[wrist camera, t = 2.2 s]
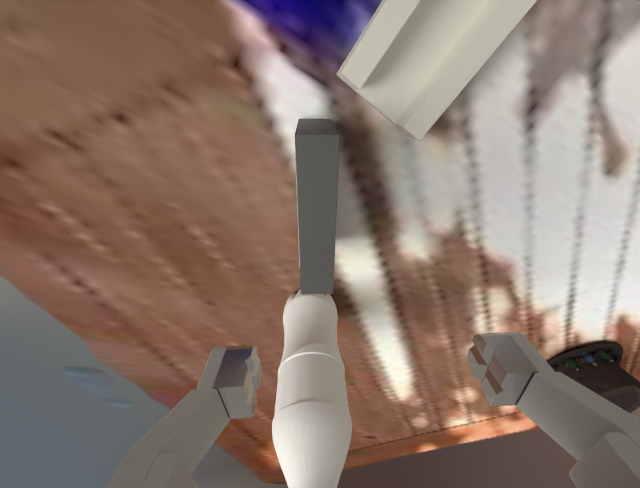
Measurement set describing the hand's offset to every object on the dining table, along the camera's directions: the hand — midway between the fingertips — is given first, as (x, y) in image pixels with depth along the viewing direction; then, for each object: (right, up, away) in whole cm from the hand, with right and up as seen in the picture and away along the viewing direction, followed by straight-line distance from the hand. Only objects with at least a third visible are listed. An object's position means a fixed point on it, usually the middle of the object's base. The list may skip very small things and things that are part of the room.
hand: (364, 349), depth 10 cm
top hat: (+46, -19, +40) cm, 63 cm away
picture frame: (-2, +10, +20) cm, 23 cm away
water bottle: (-3, -4, +29) cm, 29 cm away
